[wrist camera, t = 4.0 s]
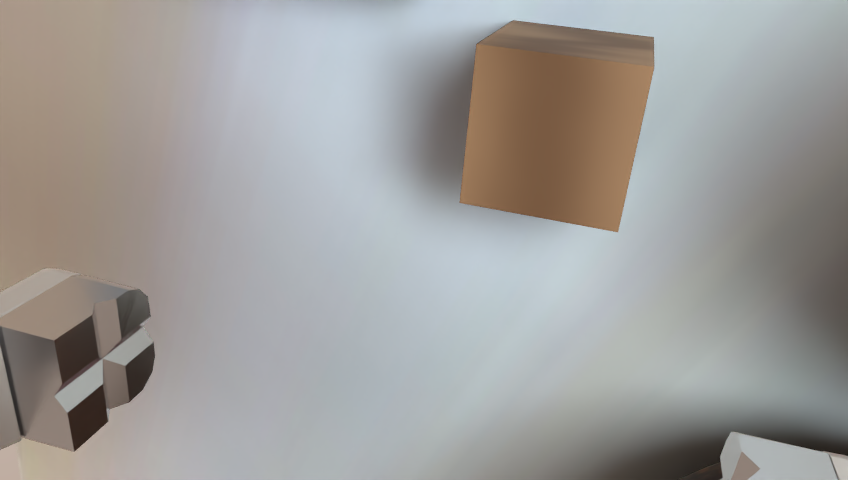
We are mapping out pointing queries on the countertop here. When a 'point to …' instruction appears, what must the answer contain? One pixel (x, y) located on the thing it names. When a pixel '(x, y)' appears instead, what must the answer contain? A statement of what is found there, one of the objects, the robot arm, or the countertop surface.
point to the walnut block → (556, 122)
